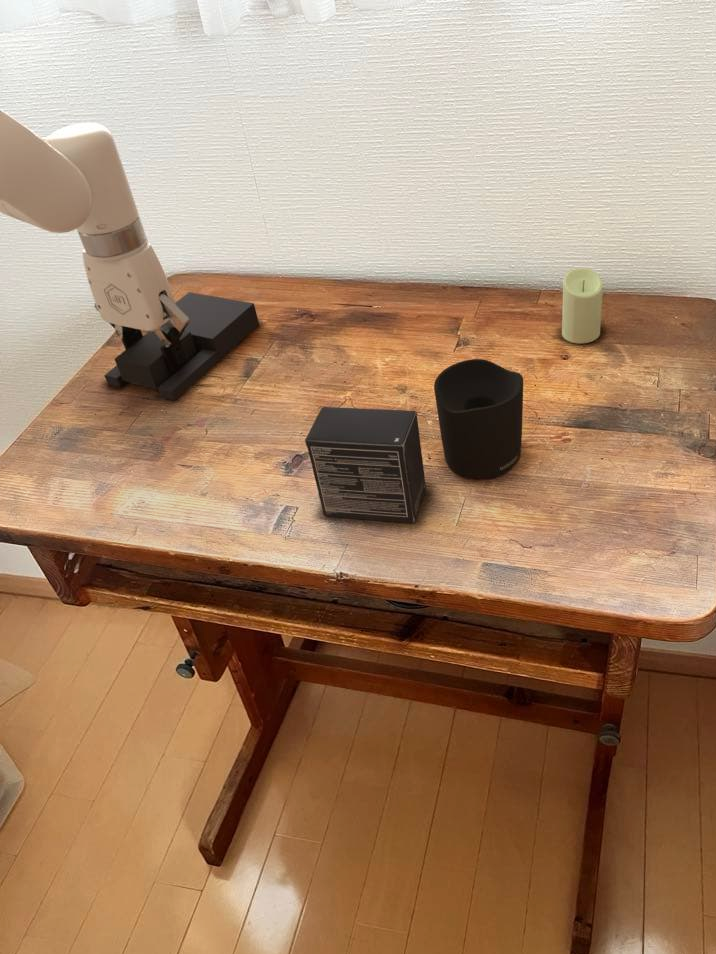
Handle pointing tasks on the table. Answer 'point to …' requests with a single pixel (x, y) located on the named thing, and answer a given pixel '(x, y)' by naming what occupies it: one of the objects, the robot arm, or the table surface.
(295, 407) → the table surface
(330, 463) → the small box
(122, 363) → the black block
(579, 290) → the candle
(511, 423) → the pen holder
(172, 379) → the base pad
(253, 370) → the table surface
